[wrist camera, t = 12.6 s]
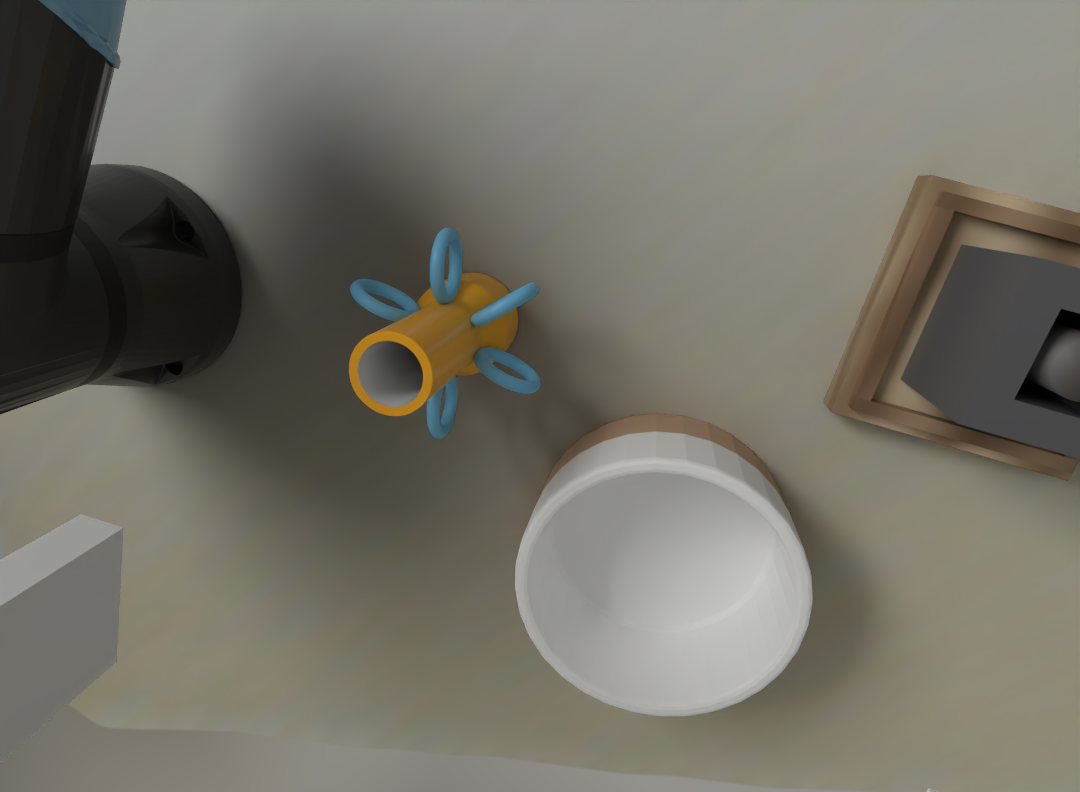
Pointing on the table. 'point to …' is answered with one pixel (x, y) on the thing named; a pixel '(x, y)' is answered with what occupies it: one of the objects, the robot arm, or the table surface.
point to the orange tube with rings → (438, 339)
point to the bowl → (663, 568)
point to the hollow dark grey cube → (998, 347)
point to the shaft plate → (910, 293)
